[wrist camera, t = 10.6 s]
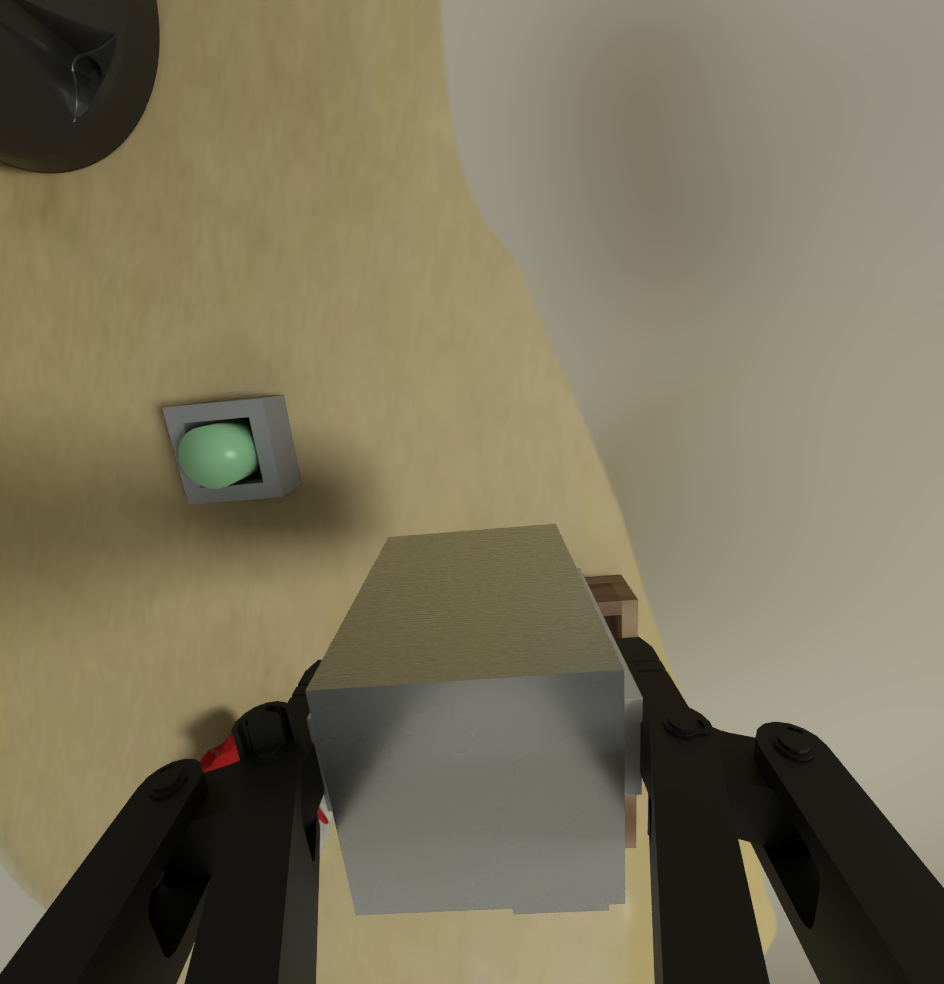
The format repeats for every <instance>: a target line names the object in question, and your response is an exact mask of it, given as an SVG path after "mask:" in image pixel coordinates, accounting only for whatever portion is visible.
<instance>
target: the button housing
mask: <svg viewBox="0 0 944 984" xmlns="http://www.w3.org/2000/svg"><path fill="white" fill-rule="evenodd" d="M162 409H163V413H164V417H165V420H166V424H167V428H168V431H169V435H170V439H171V442H172V446H173V450H174V454H175V457H176V461H177V465H178V468H179V472H180V476H181V479H182V483H183V487H184V490H185V494H186V498H187V501H188V505H195V504H207V503H219V502H231V501H243V500H255V499H267V498H279V497H284V496H285V495H287V494H288V493H290V492H291V491H293V490H294V489H296V488H297V487H299V486H300V485H301V480H300V475H299V470H298V465H297V460H296V455H295V449H294V444H293V439H292V434H291V429H290V424H289V419H288V414H287V409H286V404H285V399H284V395H278V396H268V397H257V398H246V399H236V400H225V401H214V402H204V403H193V404H186V405H178V406H171V407H163V408H162ZM245 417H249V419H250V424H251V428H252V433H253V437H254V442H255V447H256V451H257V456H258V460H259V465H260V469H261V474H252V475H249V476H247V477H245V478H243V479H241V480H239V481H237V482H235V483H233V484H230V485H228V486H226V487H223V488H219V489H211V488H206V487H203V486H200V485H198V484H197V483H195V482H193V481H192V480H191V479H190V478H189V477H188V476H187V475H186V474H185V472H184V471H183V469H182V467H181V465H180V462H179V458H178V448H179V444H180V441H181V440H182V438H183V437H184V435H185V434H186V433H187V432H189V431H190V430H192V429H194V428H198V427H202V426H207V425H211V424H214V423H213V420H223V419H234V418H245Z"/></svg>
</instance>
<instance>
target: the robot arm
mask: <svg viewBox="0 0 944 984" xmlns="http://www.w3.org/2000/svg"><path fill="white" fill-rule="evenodd" d="M158 57H159V17H158V9H157V1H156V0H0V162H3V163H5V164H8V165H11V166H14V167H18V168H21V169H26V170H31V171H39V172H63V171H69V170H74V169H78V168H81V167H84V166H87V165H90V164H92V163H94V162H96V161H98V160H100V159H101V158H103V157H105V156H106V155H108V154H109V153H110V152H112V151H113V150H114V149H116V148H117V147H118V146H119V145H120V144H121V143H122V142H123V141H124V140H125V139H126V138H127V136H128V135H129V134H130V133H131V131H132V130H133V129H134V127H135V126H136V124H137V123H138V121H139V119H140V118H141V116H142V114H143V112H144V110H145V108H146V105H147V103H148V100H149V98H150V95H151V92H152V89H153V85H154V81H155V77H156V71H157V66H158ZM577 570H578V572H579V574H580V577H581V579H582V581H583V583H584V585H585V587H586V589H587V591H588V594H589V596H590V598H591V600H592V602H593V604H594V606H595V609H596V611H597V613H598V615H599V617H600V619H601V621H602V623H603V626H604V628H605V630H606V632H607V634H608V636H609V638H610V640H611V643H612V645H613V647H614V649H615V651H616V653H617V655H618V657H619V660H620V662H621V664H622V666H623V668H624V707H625V795H640V794H642V779H643V781H644V784H645V786H646V789H647V791H648V835H649V845H650V871H651V897H652V924H653V950H654V977H655V984H770V983H769V978H768V974H767V969H766V965H765V960H764V955H763V951H762V946H761V942H760V937H759V932H758V928H757V923H756V919H755V914H754V910H753V905H752V900H751V896H750V891H749V887H748V882H747V878H746V873H745V868H744V864H743V859H742V855H741V850H740V846H739V841H738V839H741V840H745V841H749V842H751V844H752V846H753V848H754V850H755V853H756V855H757V857H758V859H759V861H760V863H761V865H762V867H763V869H764V871H765V873H766V875H767V877H768V878H769V881H770V883H771V885H772V887H773V889H774V891H775V893H776V895H777V897H778V899H779V901H780V903H781V905H782V907H783V909H784V911H785V913H786V915H787V917H788V919H789V921H790V923H791V925H792V927H793V929H794V931H795V933H796V935H797V937H798V939H799V941H800V943H801V945H802V947H803V949H804V952H805V953H806V956H807V958H808V960H809V962H810V964H811V966H812V968H813V970H814V972H815V974H816V976H817V978H818V979H819V982H820V984H944V888H943V887H942V885H941V884H940V883H939V882H938V880H937V879H936V878H935V877H934V876H933V874H932V873H931V872H930V871H929V869H928V868H927V867H926V866H925V865H924V863H923V862H922V861H921V860H920V858H919V857H918V856H917V855H916V854H915V853H914V851H913V850H912V849H911V847H910V846H909V845H908V844H907V843H906V841H905V840H904V839H903V838H902V837H901V835H900V834H899V833H898V832H897V830H896V829H895V828H894V827H893V826H892V824H891V823H890V822H889V821H888V819H887V818H886V817H885V816H884V814H883V813H882V812H881V811H880V810H879V808H878V807H877V806H876V805H875V803H874V802H873V801H872V800H871V799H870V797H869V796H868V795H867V794H866V792H865V791H864V790H863V789H862V788H861V786H860V785H859V784H858V783H857V782H856V780H855V779H854V778H853V777H852V775H851V774H850V773H849V772H848V770H847V769H846V768H845V767H844V766H843V764H842V763H841V762H840V761H839V759H838V758H837V757H836V756H835V755H834V753H833V752H832V751H831V750H830V748H829V747H828V746H827V745H826V744H825V743H824V742H822V740H820V739H819V738H818V737H817V736H816V735H814V734H812V733H810V732H809V731H807V730H805V729H803V728H801V727H798V726H795V725H792V724H789V723H782V722H771V723H765V724H763V725H762V726H761V727H759V728H758V729H757V733H756V738H754V737H749V736H744V735H738V734H733V733H728V732H724V731H721V730H718V729H716V728H713V727H712V725H711V723H710V722H709V721H708V720H707V719H706V718H705V717H704V716H703V715H702V714H700V713H699V712H697V711H695V710H693V709H691V708H689V707H688V705H687V704H686V702H685V700H684V699H683V697H682V695H681V694H680V692H679V690H678V689H677V687H676V685H675V684H674V682H673V680H672V679H671V677H670V676H669V674H668V672H667V671H666V669H665V667H664V666H663V664H662V662H661V661H660V659H659V657H658V656H657V654H656V652H655V651H654V649H653V647H652V646H650V645H649V644H648V643H646V642H645V641H644V640H642V639H641V638H640V637H628V638H613V636H612V633H611V631H610V629H609V627H608V625H607V623H606V621H605V619H604V617H603V615H602V613H601V611H600V609H599V607H598V605H597V602H596V600H595V598H594V596H593V594H592V592H591V590H590V588H589V586H588V584H587V582H586V580H585V578H584V576H583V574H582V571H581V569H580V568H577ZM321 661H322V660H318V661H317V662H315V663H314V664H313V665H312V666H311V667H310V668H309V669H308V670H306V671H305V673H304V675H303V676H302V678H301V680H300V682H299V683H298V687H296V689H295V691H294V692H293V694H292V697H291V698H290V699H289V701H288V703H286V702H280V701H275V702H268V703H265V704H262V705H259V706H257V707H254V708H253V709H251V710H250V711H248V712H246V713H245V714H244V715H243V716H242V717H241V718H239V719H238V720H237V721H236V723H235V725H234V726H233V728H232V730H231V731H232V735H233V738H234V742H235V745H236V748H237V752H238V755H239V759H240V761H237V762H235V763H232V764H229V765H226V766H223V767H220V768H217V769H214V770H210V771H207V772H204V771H203V768H202V765H201V763H200V762H198V761H197V760H195V759H182V760H178V761H174V762H172V763H170V764H168V765H166V766H163V767H161V768H160V769H158V770H157V771H155V772H154V773H153V774H151V775H150V776H148V777H147V778H146V779H145V781H144V782H143V783H142V784H141V785H140V786H139V787H138V788H137V790H136V791H135V792H134V794H133V795H132V796H131V798H130V799H129V800H128V802H127V803H126V804H125V806H124V807H123V808H122V810H121V811H120V813H119V814H118V815H117V817H116V818H115V819H114V821H113V822H112V823H111V825H110V826H109V827H108V829H107V830H106V831H105V833H104V834H103V836H102V837H101V838H100V840H99V841H98V842H97V844H96V845H95V846H94V848H93V849H92V850H91V852H90V853H89V854H88V856H87V857H86V859H85V860H84V861H83V863H82V864H81V865H80V867H79V868H78V869H77V871H76V872H75V873H74V875H73V876H72V877H71V879H70V880H69V882H68V883H67V884H66V886H65V887H64V888H63V890H62V891H61V892H60V894H59V895H58V896H57V898H56V899H55V901H54V902H53V903H52V905H51V906H50V907H49V909H48V910H47V911H46V913H45V914H44V916H43V917H42V918H41V919H40V921H39V922H38V924H37V925H36V926H35V928H34V929H33V931H32V932H31V933H30V935H29V936H28V937H27V938H26V940H25V941H24V942H23V944H22V945H21V947H20V948H19V949H18V951H17V952H16V953H15V955H14V956H13V957H12V959H11V960H10V961H9V963H8V964H7V965H6V967H5V968H4V970H3V971H2V972H1V974H0V984H176V983H177V981H178V979H179V976H180V974H181V972H182V970H183V967H184V965H185V963H186V961H187V958H188V956H189V954H190V952H191V949H192V947H193V945H194V948H193V952H192V956H191V960H190V964H189V968H188V972H187V976H186V980H185V984H316V959H317V926H318V893H319V860H320V822H319V818H318V814H317V812H318V809H319V806H320V803H321V801H322V798H323V795H324V797H325V801H326V805H327V810H328V811H332V807H331V802H330V798H329V793H328V789H327V785H326V780H325V776H324V771H323V767H322V762H321V758H320V754H319V749H318V745H317V740H316V736H315V731H314V727H313V723H312V718H311V714H310V709H309V705H308V700H307V696H306V692H305V691H306V689H307V687H308V685H309V683H310V681H311V679H312V678H313V676H314V674H315V672H316V670H317V668H318V667H319V665H320V663H321ZM194 943H195V944H194Z"/></svg>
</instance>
